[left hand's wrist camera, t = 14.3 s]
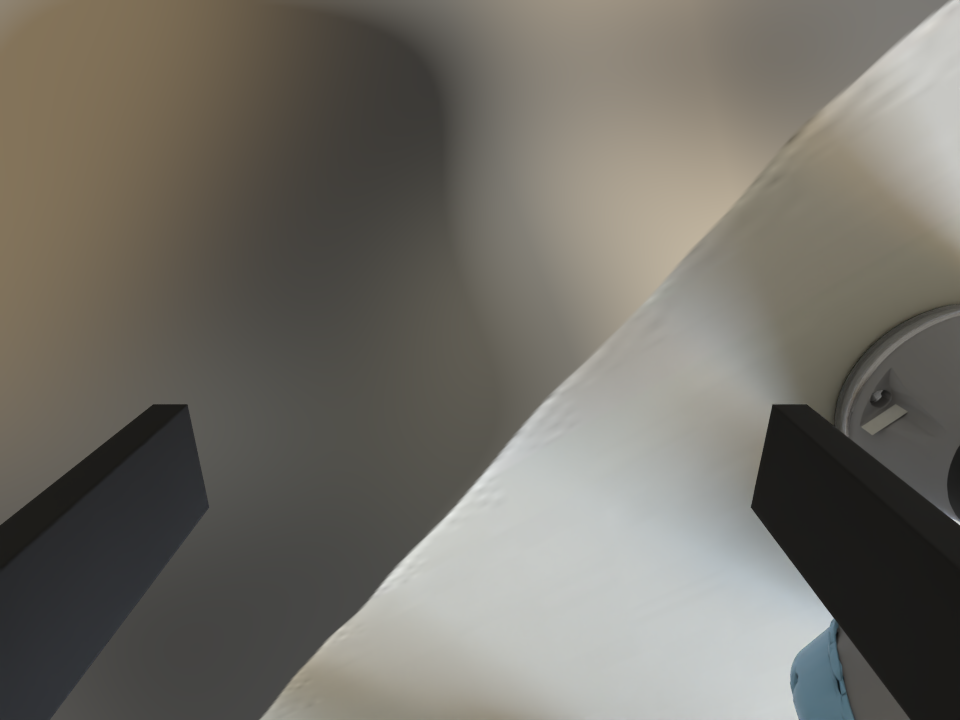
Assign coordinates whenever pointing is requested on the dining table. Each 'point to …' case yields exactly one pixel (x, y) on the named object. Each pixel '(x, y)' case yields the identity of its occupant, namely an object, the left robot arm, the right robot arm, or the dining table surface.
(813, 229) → the dining table surface
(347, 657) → the dining table surface
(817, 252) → the dining table surface
